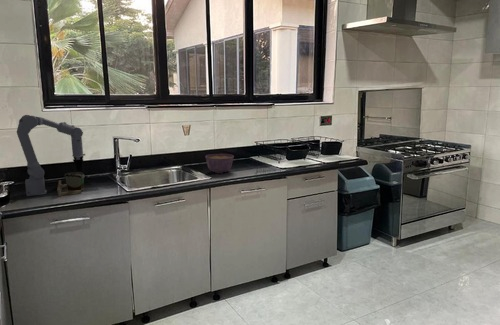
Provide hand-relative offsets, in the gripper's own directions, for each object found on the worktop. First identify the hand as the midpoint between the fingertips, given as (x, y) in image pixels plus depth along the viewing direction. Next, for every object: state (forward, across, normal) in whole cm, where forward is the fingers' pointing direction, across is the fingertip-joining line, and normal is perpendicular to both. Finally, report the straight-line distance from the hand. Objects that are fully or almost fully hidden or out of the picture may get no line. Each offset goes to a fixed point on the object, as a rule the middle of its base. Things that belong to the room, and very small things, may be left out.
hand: (79, 169), depth 225 cm
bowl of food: (+10, 0, -90) cm, 91 cm away
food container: (+10, -9, +1) cm, 14 cm away
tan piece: (+10, -9, +6) cm, 15 cm away
